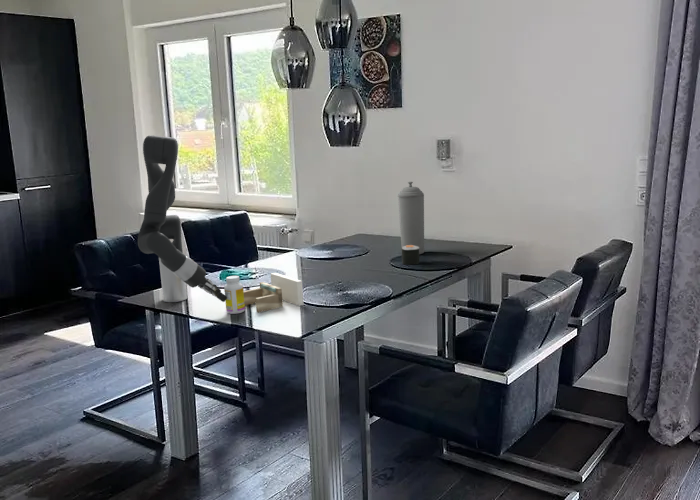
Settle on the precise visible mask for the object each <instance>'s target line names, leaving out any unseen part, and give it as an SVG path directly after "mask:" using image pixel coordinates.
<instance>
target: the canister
mask: <svg viewBox="0 0 700 500" xmlns="http://www.w3.org/2000/svg"><path fill="white" fill-rule="evenodd" d="M413 182H414V181H407V184H408V186H405V187H403V188H402V189H401V191H400V192H399V193H398V195H397V199H398V214H399V231H400V244H401V249H402V248H403V246H406V245H414V246H417V247H419V255H422V254H424V253H425V200H424V199H425V194H424V192H423V191H422V190H421V189H420V187H418V186H413V185H412V184H414V183H413Z"/></svg>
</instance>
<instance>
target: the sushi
mask: <svg viewBox="0 0 700 500" xmlns="http://www.w3.org/2000/svg"><path fill="white" fill-rule="evenodd" d="M401 264H402V265H404V266H405V265H407V266H408V265H409V266H411V265H418V264H420V254H419V247H417V246H414V245H406V246H403V248H402V247H401Z"/></svg>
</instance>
